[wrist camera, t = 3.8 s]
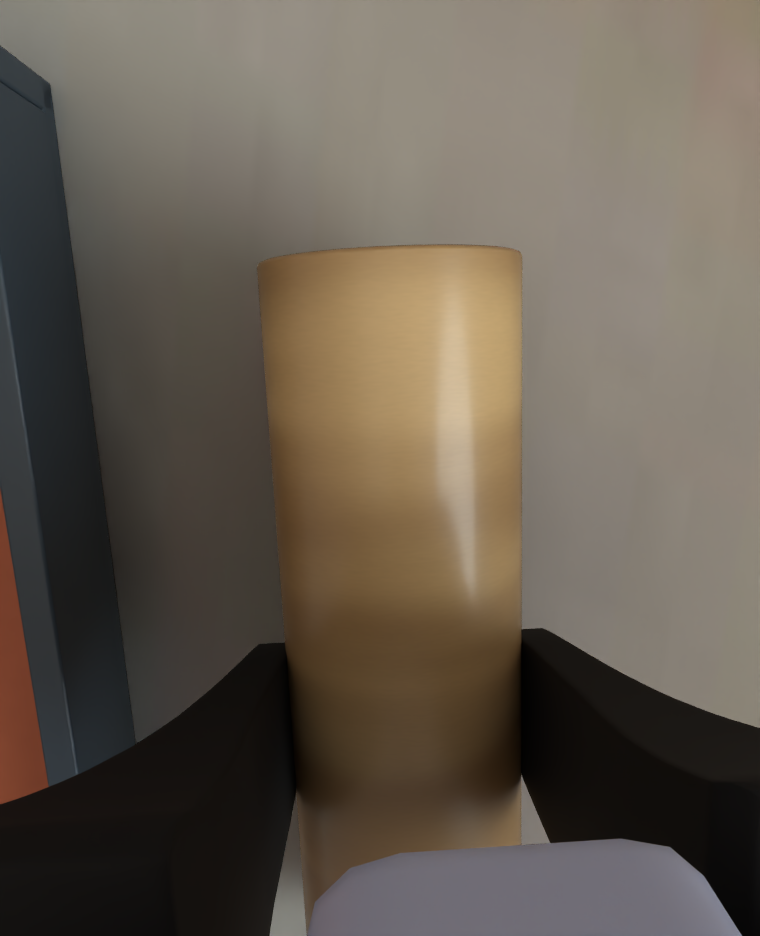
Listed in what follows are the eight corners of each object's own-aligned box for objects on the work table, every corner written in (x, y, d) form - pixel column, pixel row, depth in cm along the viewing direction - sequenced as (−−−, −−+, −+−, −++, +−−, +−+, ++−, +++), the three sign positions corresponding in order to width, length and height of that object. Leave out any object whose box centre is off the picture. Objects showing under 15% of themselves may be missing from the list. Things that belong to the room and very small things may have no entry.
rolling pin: (495, 948, 16) (546, 1157, 12) (319, 963, 16) (312, 1179, 12) (490, 265, 13) (557, 238, 9) (270, 273, 12) (238, 250, 9)
